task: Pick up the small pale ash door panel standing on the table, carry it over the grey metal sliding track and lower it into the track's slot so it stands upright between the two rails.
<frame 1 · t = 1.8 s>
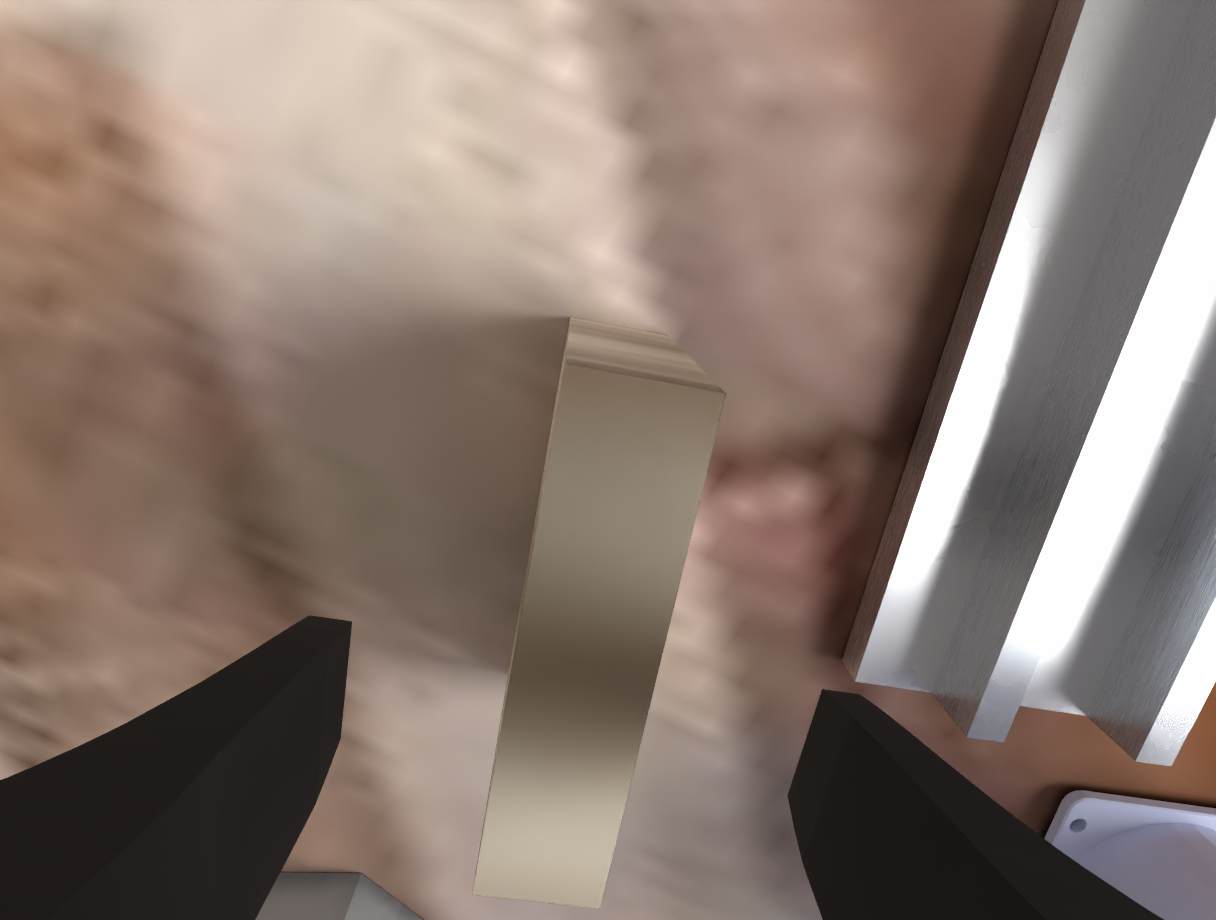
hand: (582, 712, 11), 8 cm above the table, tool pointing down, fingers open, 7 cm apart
door panel: (582, 516, 18), on the table
track: (1145, 344, 17), on the table
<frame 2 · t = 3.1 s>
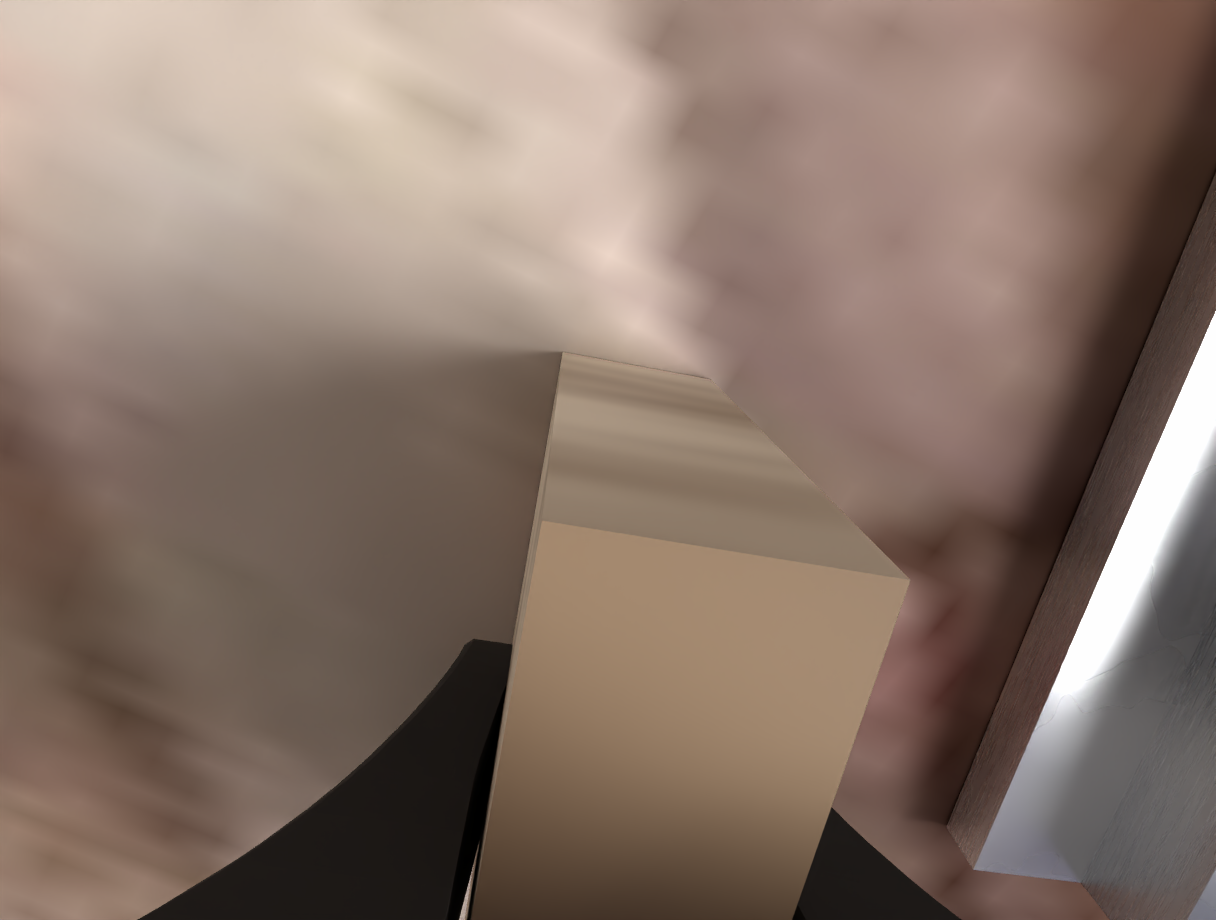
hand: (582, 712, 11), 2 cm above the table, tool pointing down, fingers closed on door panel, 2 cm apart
door panel: (581, 639, 12), on the table, touching gripper
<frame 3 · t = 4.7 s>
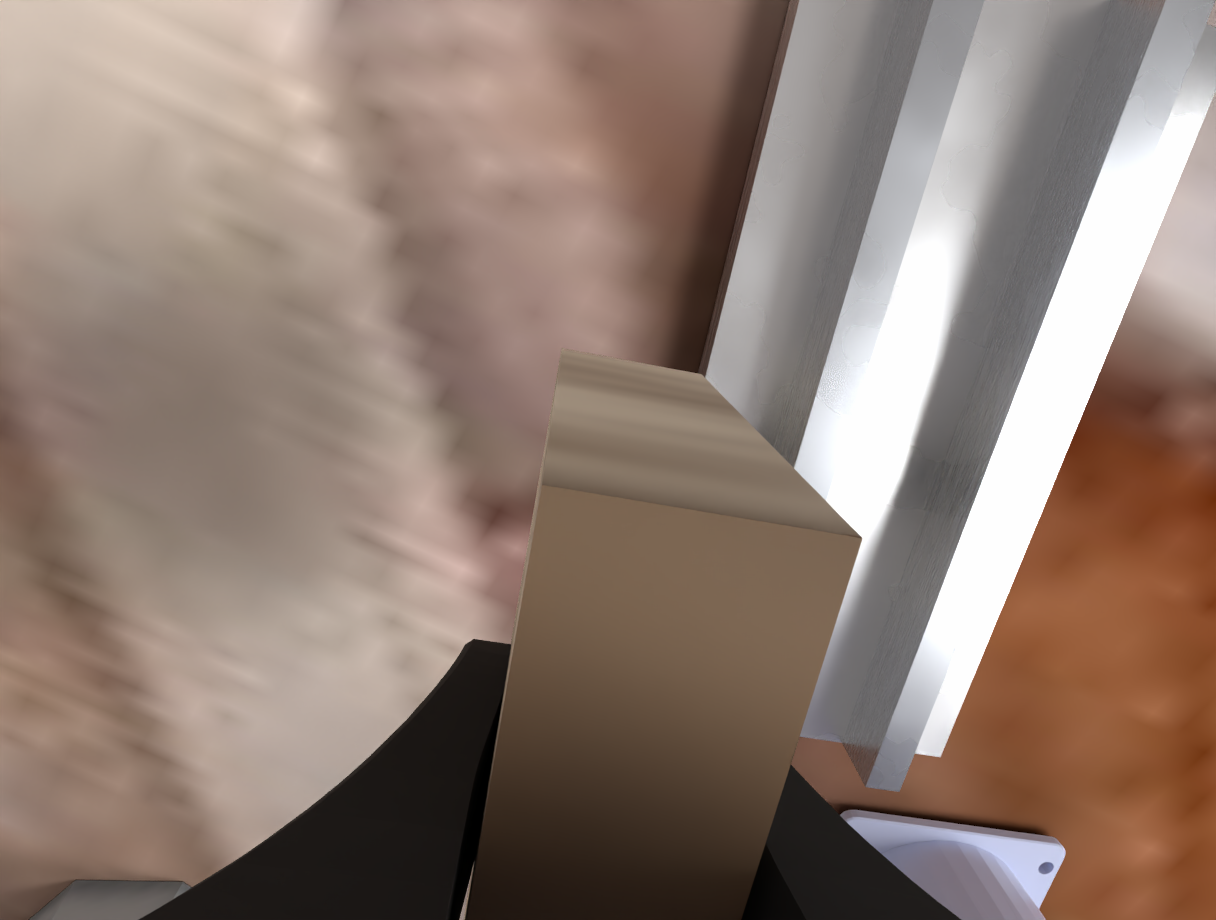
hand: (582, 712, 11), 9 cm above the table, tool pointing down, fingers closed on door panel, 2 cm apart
door panel: (579, 622, 13), point 7 cm above the table, touching gripper
track: (875, 406, 19), on the table
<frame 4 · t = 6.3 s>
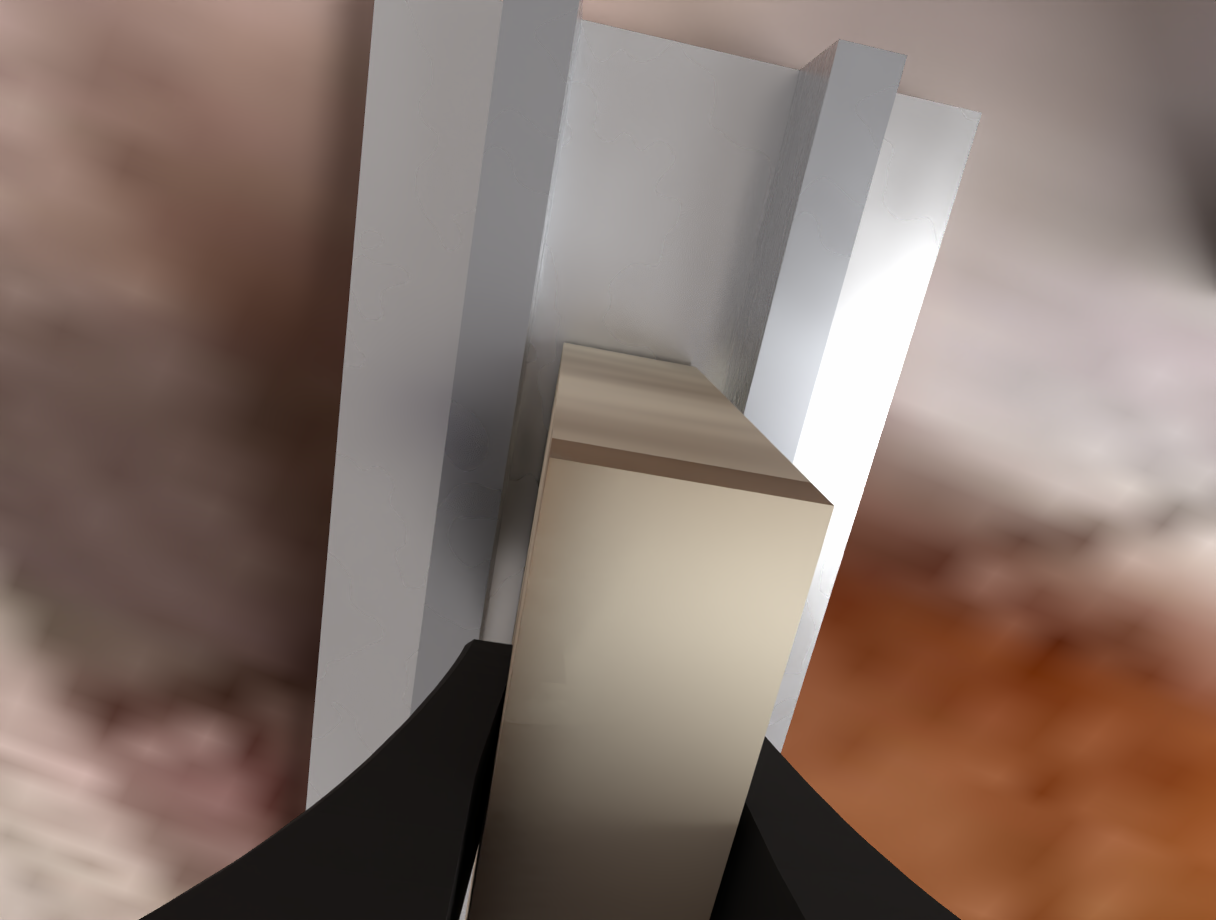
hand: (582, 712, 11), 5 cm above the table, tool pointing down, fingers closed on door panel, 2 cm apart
door panel: (580, 604, 14), point 1 cm above the table, touching gripper
track: (580, 574, 15), on the table
when the fingers open (4 cm above the table, at t = 6.7 s): door panel stays where it is, resting on track.
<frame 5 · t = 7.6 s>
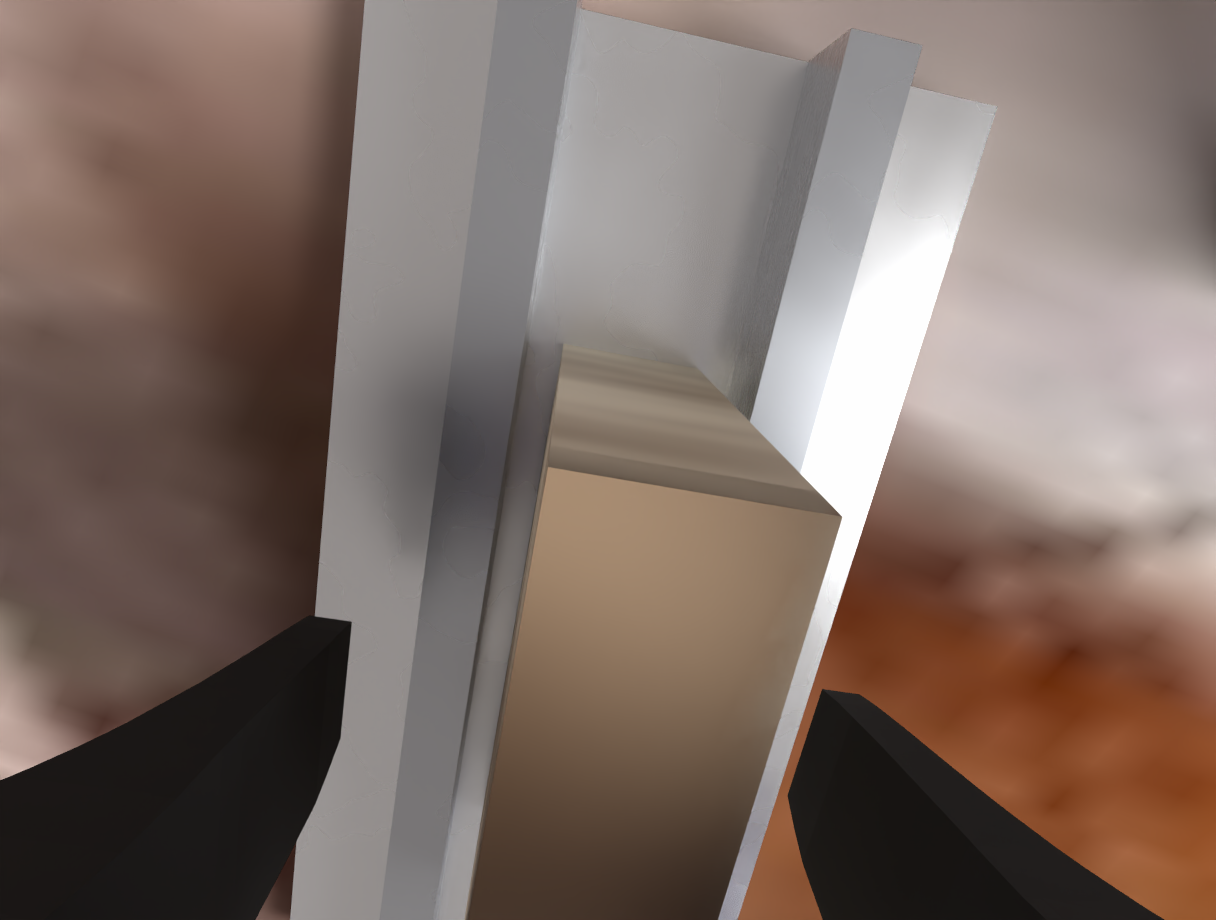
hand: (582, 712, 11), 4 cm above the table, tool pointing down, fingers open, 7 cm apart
door panel: (580, 608, 14), point 1 cm above the table, touching track
track: (580, 583, 15), on the table
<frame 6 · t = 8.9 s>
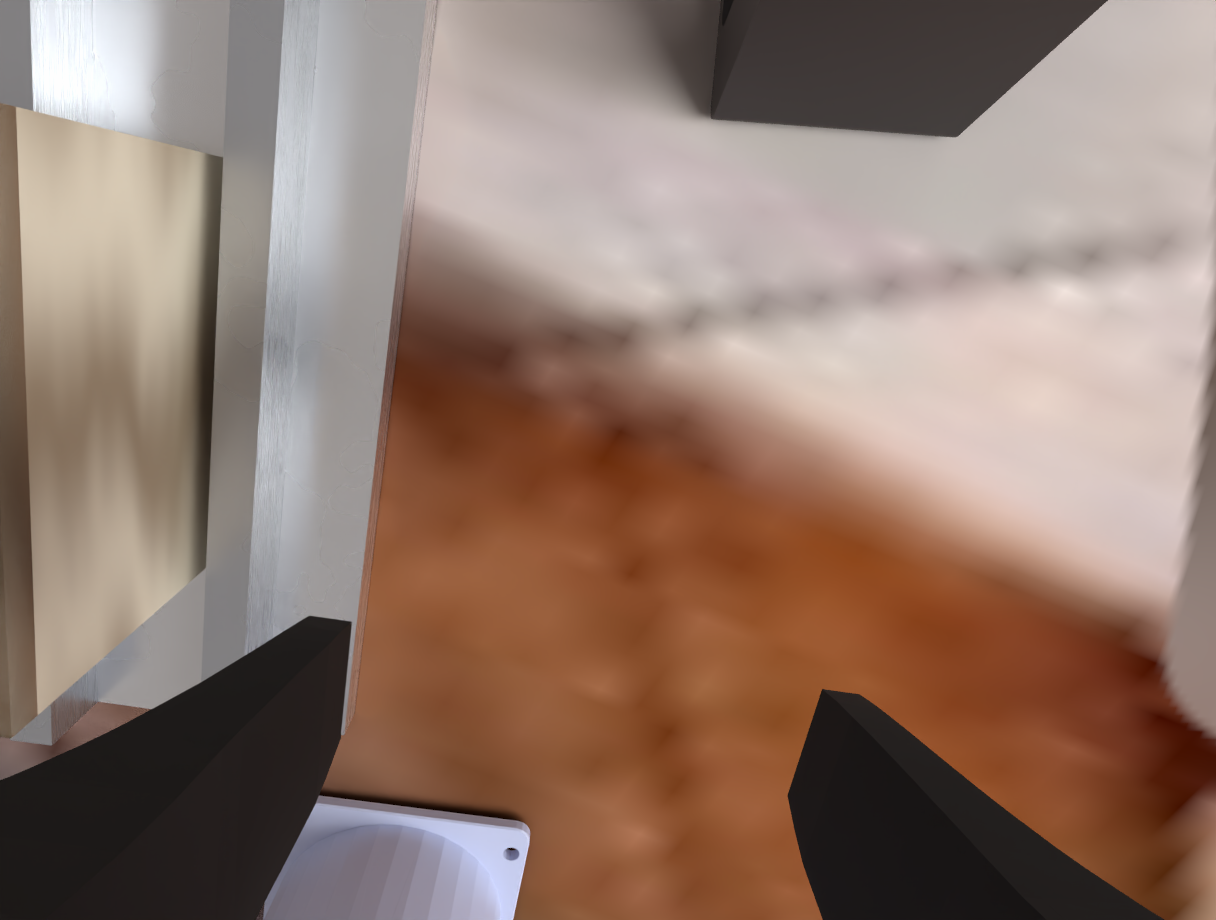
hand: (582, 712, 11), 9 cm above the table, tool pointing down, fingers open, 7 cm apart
door panel: (172, 367, 17), point 1 cm above the table, touching track
track: (194, 359, 18), on the table
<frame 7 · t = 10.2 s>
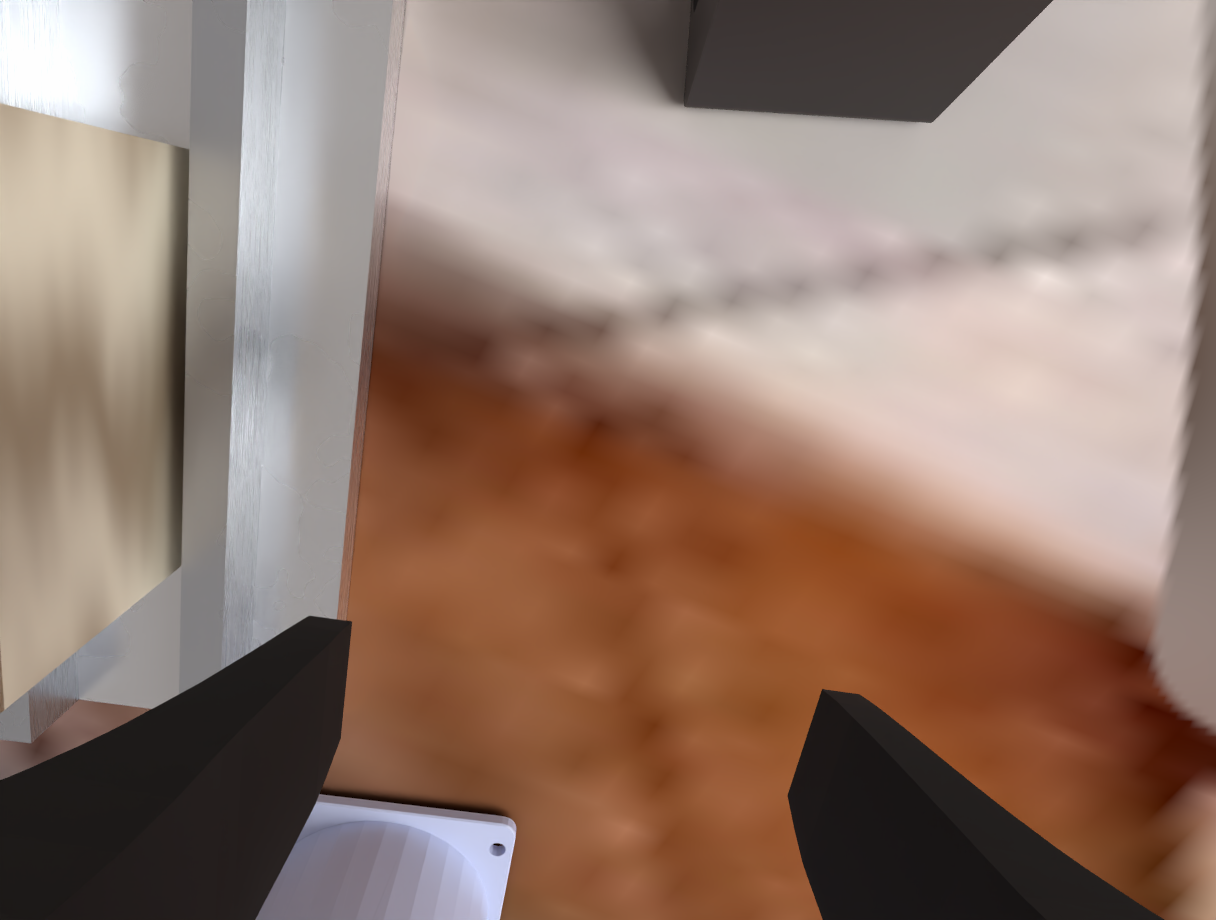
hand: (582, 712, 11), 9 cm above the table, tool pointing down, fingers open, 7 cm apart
door panel: (146, 362, 17), point 1 cm above the table, touching track
track: (170, 354, 18), on the table
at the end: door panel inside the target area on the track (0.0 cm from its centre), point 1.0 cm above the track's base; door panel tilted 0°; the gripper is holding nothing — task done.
